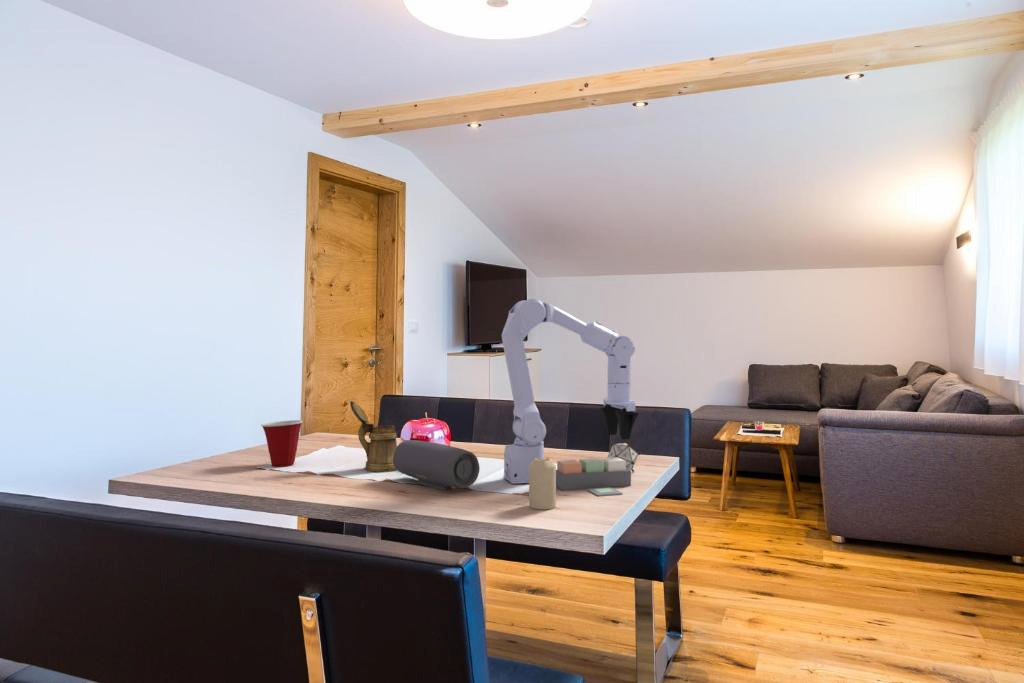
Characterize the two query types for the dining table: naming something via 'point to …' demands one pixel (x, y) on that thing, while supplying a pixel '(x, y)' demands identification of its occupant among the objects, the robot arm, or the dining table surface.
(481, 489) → the dining table surface
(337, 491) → the dining table surface
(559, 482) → the button bar
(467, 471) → the bluetooth speaker
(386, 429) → the wooden mug
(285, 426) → the plastic cup
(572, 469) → the terracotta button
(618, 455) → the game die
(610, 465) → the cream button
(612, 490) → the card
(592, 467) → the sage button
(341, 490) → the dining table surface
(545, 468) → the candle
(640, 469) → the dining table surface
